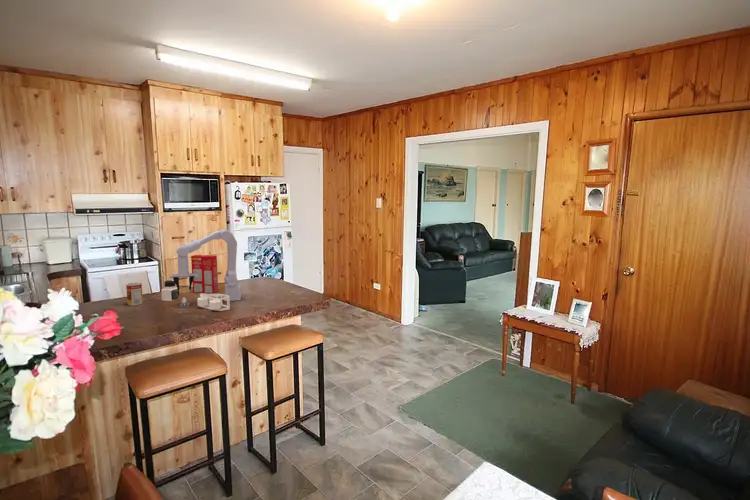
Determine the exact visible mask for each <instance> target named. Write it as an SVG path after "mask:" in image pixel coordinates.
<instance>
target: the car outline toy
mask: <svg viewBox="0 0 750 500" xmlns="http://www.w3.org/2000/svg"><path fill="white" fill-rule="evenodd" d="M196 299H197V306H198V307H200V308H202V309H208V310H211V311H217V312H218V311H219V312H224V311H229V310H230V309H231V303H230V302H231V301H230V298H229V296H228V295H225V293H215V294H208V293H199V297H197V298H196ZM208 299H209V303H208ZM225 299H227V301H226V304H223V300H224V301H225ZM222 307H223V308H222Z"/></svg>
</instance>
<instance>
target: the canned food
mask: <svg viewBox="0 0 750 500" xmlns="http://www.w3.org/2000/svg"><path fill="white" fill-rule="evenodd" d="M125 285H126V287H125V288H126V289H125V290H126V301H127V305H128V306H138V305H139V304H140V305H142V304H143V303H144V299H143V285H142V282H130V283H126V284H125Z"/></svg>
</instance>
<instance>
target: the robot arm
mask: <svg viewBox="0 0 750 500" xmlns="http://www.w3.org/2000/svg"><path fill="white" fill-rule="evenodd" d="M213 240H222V241H223V242H225V243H226V244H227V246H228V249H227V250H228V251H227V266H226V272H225V276H224V277H223V281H224V283H225V284H224V295H228V296H229V298H230V302H232V301H241V300H242V293H241V285H240V284H238V278H237V272H236V266H237V253H238V252H237V251H238V250H237V249H238V241H237V239H236V237H235V236H234V234H233V233H232V232H231V231H230V230H227V229H226V228H221V229H219V230H216V231H214V232H212V233H210V234H207V235H206V236H204V237H202V238H200V239H191V240H190V242H187V243H186V244H185V243H184V244H183V245H180V246H178V247H177V249H176V254H177V273H176V274H175V273H174V274H169V279H172V280H174V282H175V285H176V287H177V289H178V290H179V287H180V279H182V278H183V279H184V278H188V283H189V284H188V286H189V290H190V291H191V290H192V286H193V284H192V282H193V279H194V277H197V273H192V272H190V265H189V264H190V263H189V257H188V255H189V254H191V253H194V252H195V251H198V250H200V249H201V247H202V245H204V244H207V243H209V242H211V241H213ZM224 302H227V299H225V300H224Z"/></svg>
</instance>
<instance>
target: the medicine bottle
mask: <svg viewBox="0 0 750 500" xmlns="http://www.w3.org/2000/svg"><path fill="white" fill-rule="evenodd" d="M163 283H164V288H162V289H161V301H165V302H174V301H177V300H179V299H180V293H179V290H178V289H177V286H176V284H175V282H174V280H173V279H167V280H165V281H164V282H163Z"/></svg>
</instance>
